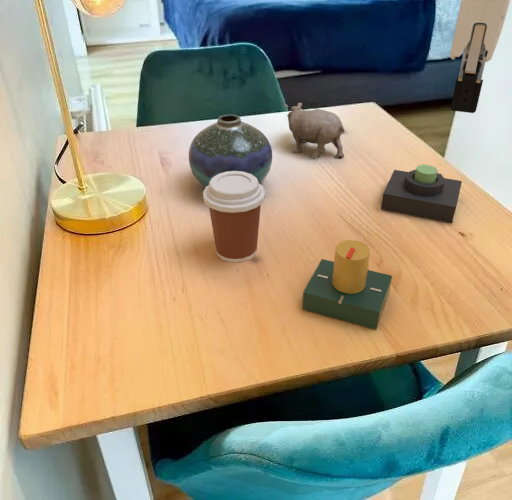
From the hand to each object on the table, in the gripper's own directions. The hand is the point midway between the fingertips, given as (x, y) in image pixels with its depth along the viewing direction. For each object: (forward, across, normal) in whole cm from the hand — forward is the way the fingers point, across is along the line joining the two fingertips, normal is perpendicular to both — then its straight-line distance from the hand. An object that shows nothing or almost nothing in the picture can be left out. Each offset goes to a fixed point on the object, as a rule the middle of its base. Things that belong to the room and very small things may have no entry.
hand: (463, 109), depth 68 cm
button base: (+21, -12, -4) cm, 25 cm away
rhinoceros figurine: (+21, -26, -30) cm, 45 cm away
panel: (+22, +19, -9) cm, 30 cm away
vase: (+21, -4, -38) cm, 44 cm away
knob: (+18, +19, -9) cm, 28 cm away
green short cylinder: (+17, -12, -4) cm, 21 cm away
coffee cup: (+21, +14, -28) cm, 38 cm away
